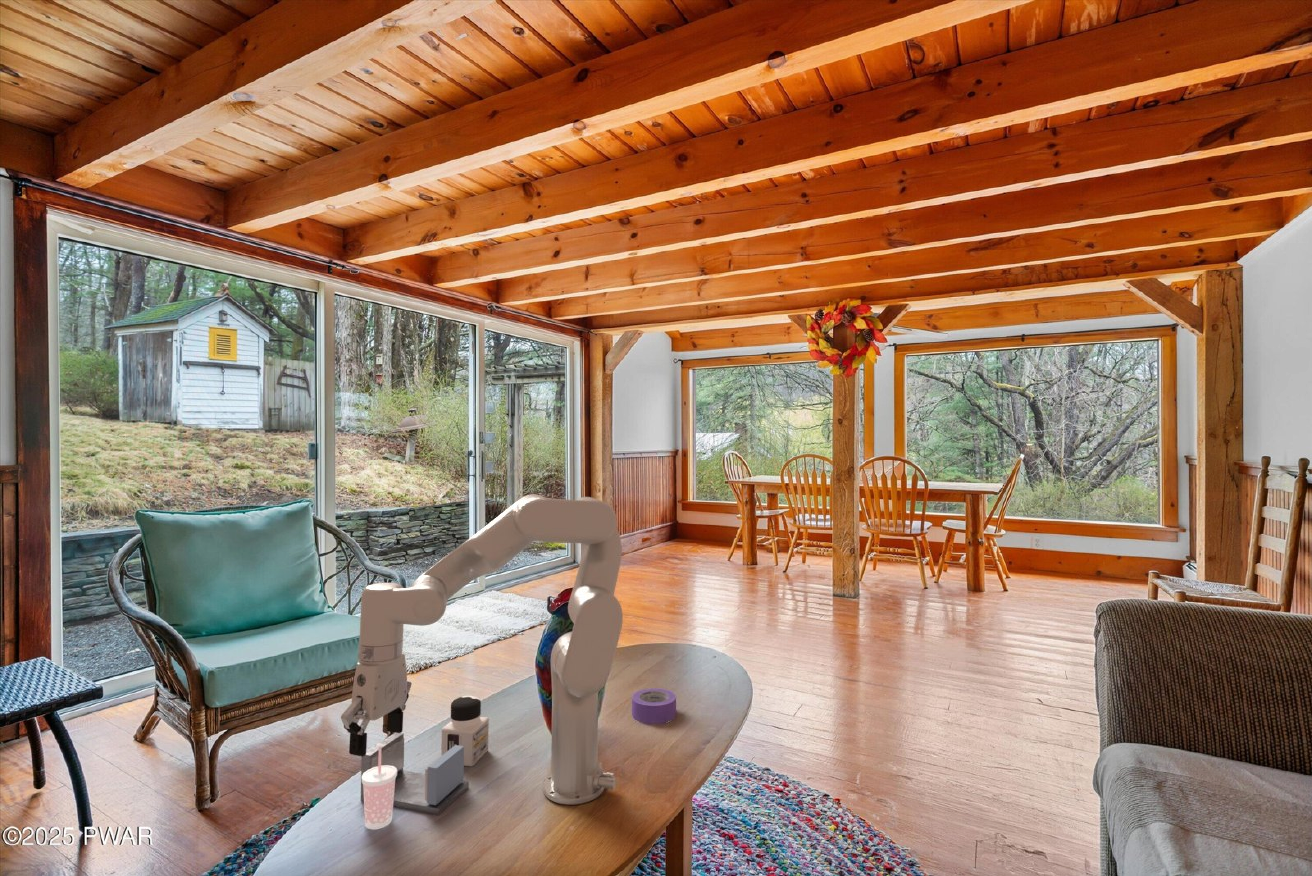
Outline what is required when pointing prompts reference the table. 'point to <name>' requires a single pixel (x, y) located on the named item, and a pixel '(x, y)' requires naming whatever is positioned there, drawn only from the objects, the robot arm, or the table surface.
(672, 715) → the tape roll
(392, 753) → the vise base
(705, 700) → the table surface
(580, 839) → the table surface
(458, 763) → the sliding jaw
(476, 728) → the container
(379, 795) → the beverage cup
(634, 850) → the table surface
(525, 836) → the table surface
